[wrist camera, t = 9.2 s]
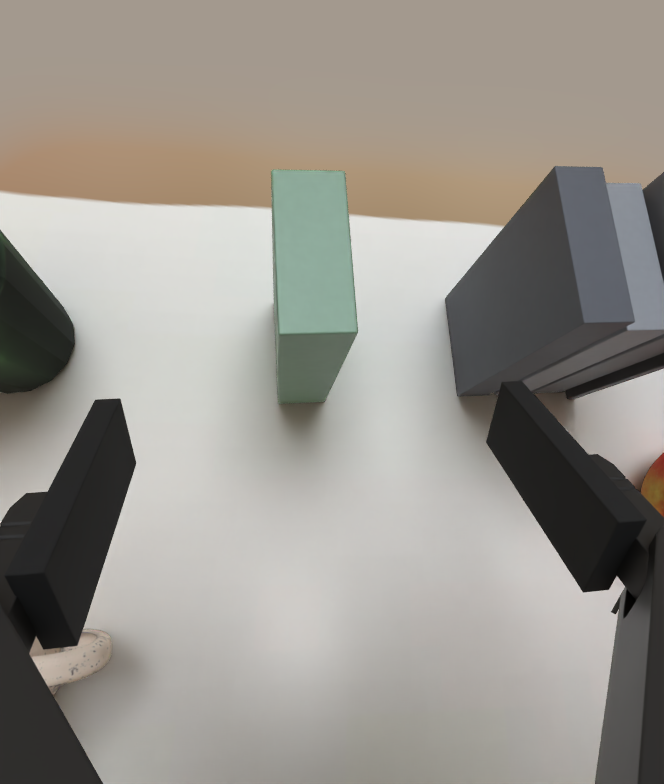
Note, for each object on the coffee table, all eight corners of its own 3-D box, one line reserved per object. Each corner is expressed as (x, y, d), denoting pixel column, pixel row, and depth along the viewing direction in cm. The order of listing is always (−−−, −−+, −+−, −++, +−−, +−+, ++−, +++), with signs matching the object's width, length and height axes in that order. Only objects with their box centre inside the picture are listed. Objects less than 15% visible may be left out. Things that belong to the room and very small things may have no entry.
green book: (318, 299, 32) (345, 169, 19) (325, 402, 30) (358, 333, 18) (273, 300, 32) (271, 168, 19) (277, 404, 30) (278, 334, 18)
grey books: (555, 289, 34) (761, 134, 20) (574, 399, 32) (816, 316, 18) (444, 291, 33) (574, 128, 19) (458, 404, 31) (613, 321, 17)
